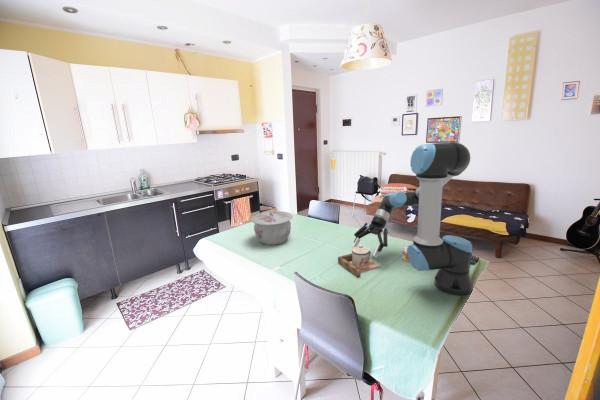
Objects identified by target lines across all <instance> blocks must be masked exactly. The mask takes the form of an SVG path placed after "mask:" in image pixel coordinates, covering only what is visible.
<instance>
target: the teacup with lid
mask: <svg viewBox="0 0 600 400" xmlns="http://www.w3.org/2000/svg"><path fill="white" fill-rule="evenodd" d="M371 252H372V251H371V250H370V249H369V248H368V247H366V246H364V245H362V244H358V246H357V247H354V248H351V253H352V265H353V266H355V267H356V268H358V269H366V268H368V266H369V259H370V257H371V254H372V253H371Z"/></svg>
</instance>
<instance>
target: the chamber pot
mask: <svg viewBox="0 0 600 400" xmlns="http://www.w3.org/2000/svg"><path fill="white" fill-rule="evenodd" d="M292 219H293V215H292V214H291V213H289V212H286V211H277V210H271V211H270V210H269V211H265V212H260V213H257V214H255V215H253V216H252V217H251V218H250V221H251V223H253V224H254V225H253V231H254V234H255V236H256V239H258V240H259V242H260V243H262V244H264V245H268V246H271V245H272V246H273V245H274V246H276V245H280V244H282V243H284V242H285V241H287V239H288V238H289V236H290V234H291V229H292V222H291V220H292Z"/></svg>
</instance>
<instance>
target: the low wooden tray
mask: <svg viewBox="0 0 600 400" xmlns="http://www.w3.org/2000/svg"><path fill="white" fill-rule="evenodd" d="M337 263H338V264H339V265H340V266H342V267H343V268H345V269H346V270H347V271H349V272H350V273H351V274H352V275H354V276H355V277H356V278H361V273H365V272H368V271H371V270H374V269H378V268H381V265H379V264H377V263H376V262H374V261H373V260H371V259H370V258H369V266H368V268H366V269H358V268H356V267H355V266H353V265H352V252H351V253H349V254H345V255H341V256H338V257H337Z"/></svg>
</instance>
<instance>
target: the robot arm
mask: <svg viewBox="0 0 600 400" xmlns="http://www.w3.org/2000/svg"><path fill="white" fill-rule="evenodd" d="M470 162H471V152H470V151H469V149H468V148H467V147H466V145H464V144H462V143H460V142H457V141H456V142H455V141H454V142H453V141H452V142H451V141H450V142H437V143H436V142H435V143H432V142H431V143H425V144H424V143H423V144H420V145H418V146H416V148H414V150H413V151H412V154H411V157H410V168H411V171H412V173H414V174H415V178H416V179H417V180H418V181H419V186H418V187H417V189H415V190H414V191H406V192H403V191H399V190H398V191H395V192H393V193H389V192H388V193H385V195H383V197H382V200H381V202H380V204H379V206H378V208H377V210H376V212H375V214H374V216H373V217H372V219H371V222H370V224H369V223H367V222H365V223H364V225H363V226H362V227H360V228H359V229H358V230H356V231H355V233H354V234H353V236H354V237H355V239H354V240H353V245H352V247H351V249H353V248H354V247H357V246H359V245H360V244H359V243H360V242H361V239H362V238H364V237H366V236H367V235H371V234H372V235H375V236H377V239H378V242H379V243H378V244H377V246H376V248H375V250H374V252H373V255H372V256H373V257H374V258H376V259H377V257H378V255H379V253H381V252H382V250H383V248H388V233H389V229H387V228H386V225H387V222H388V221H389V219H390V216H391V215H392V213H393V210H395V209H397V208H404V207H414V206H418V210H417V211H418V214H417V231H416V232H417V233H416V235H415V236H414V237H413V241H412V243H410V244H409V245H408V246H407V248H406V251H407V252H406V253H407V258H408V260H409V262H410V264H411V266H412V268H414V269H415V270H416V271H417V272H418V271H419V272H423V271H426V272H428V271H434V270H438V271H437V272H436V274H435V276H434V281H433V282H434V286H435V287H436V288H437V289H438V290H441V292H444V293H447V294H449V295H453V296H465V295H469V294H470V293H472V291H473V284H472V279H471V276H470V268H471V262H472V255H473V244H472V242H471V241H470V240H467V239H466V238H463V237H461V236H457V235H447V234H446V235H443V236H442V238H441V237H440V231H441V217H442V216H441V213H442V202H443V201H442V198H443V187H444V186H445V185H446V184H447V183H448V182H449V181H450V180H452V179H453V178H454V177H458V176H460V175H461V174H462V173H463V172H464V171H466V170H467V168H468V166H470V165H469V164H470ZM381 233H383V234H381ZM382 235H383V238H382Z"/></svg>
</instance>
